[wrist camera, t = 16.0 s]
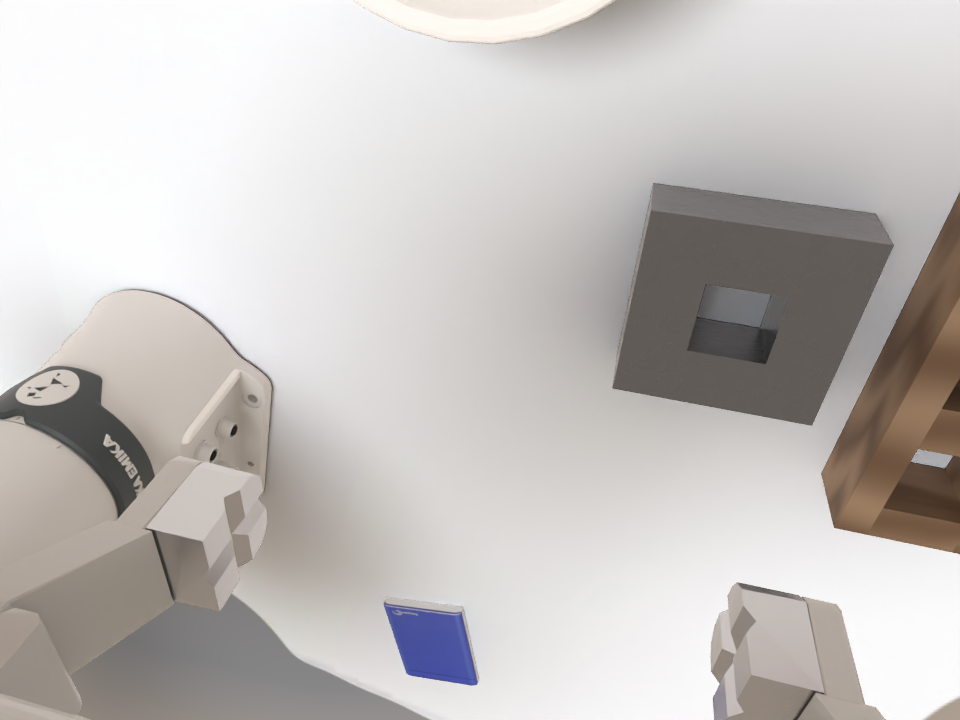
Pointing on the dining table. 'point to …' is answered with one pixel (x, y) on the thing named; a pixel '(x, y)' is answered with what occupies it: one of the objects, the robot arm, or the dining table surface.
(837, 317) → the socket block
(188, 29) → the dining table surface
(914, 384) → the rack
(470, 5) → the bowl
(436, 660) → the hard drive
